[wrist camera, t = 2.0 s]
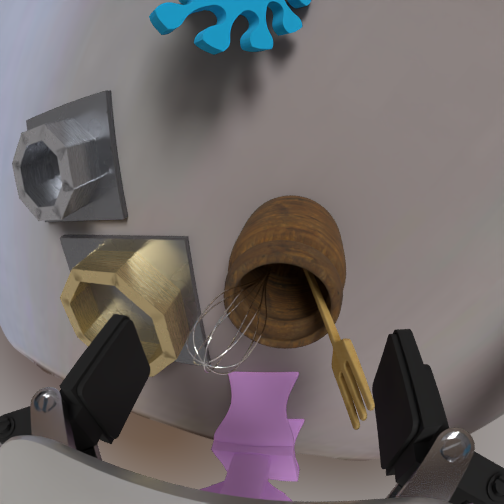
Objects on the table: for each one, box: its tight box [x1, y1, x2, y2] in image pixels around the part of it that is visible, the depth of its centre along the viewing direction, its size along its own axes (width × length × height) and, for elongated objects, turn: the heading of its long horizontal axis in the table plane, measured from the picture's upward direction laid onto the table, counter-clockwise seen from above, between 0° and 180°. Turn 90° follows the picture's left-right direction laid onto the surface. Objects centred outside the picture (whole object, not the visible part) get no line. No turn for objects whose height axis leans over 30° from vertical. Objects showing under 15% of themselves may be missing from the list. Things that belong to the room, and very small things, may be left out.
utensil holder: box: [187, 196, 375, 430], centre depth 13 cm, size 6×6×12 cm
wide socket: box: [60, 235, 211, 377], centre depth 22 cm, size 12×12×4 cm
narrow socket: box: [12, 91, 128, 222], centre depth 17 cm, size 9×9×4 cm
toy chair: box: [200, 372, 304, 501], centre depth 20 cm, size 8×9×15 cm
